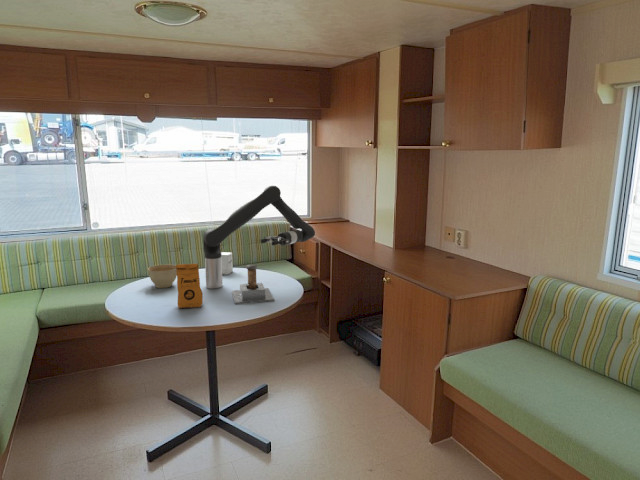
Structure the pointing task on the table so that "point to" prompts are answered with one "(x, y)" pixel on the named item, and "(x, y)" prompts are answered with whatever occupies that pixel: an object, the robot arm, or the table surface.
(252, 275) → the walnut pin
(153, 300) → the table surface
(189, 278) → the coffee package
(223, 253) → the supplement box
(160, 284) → the planter bowl
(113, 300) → the table surface
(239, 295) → the socket block
